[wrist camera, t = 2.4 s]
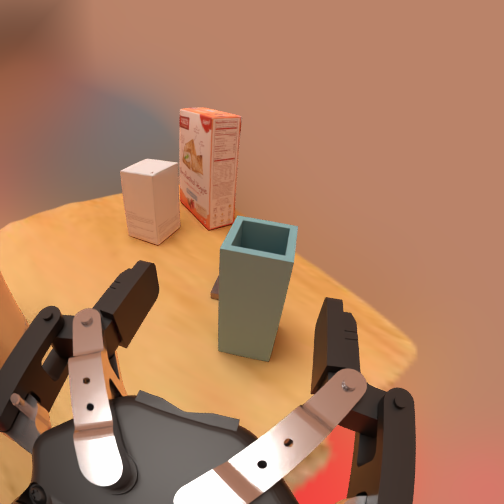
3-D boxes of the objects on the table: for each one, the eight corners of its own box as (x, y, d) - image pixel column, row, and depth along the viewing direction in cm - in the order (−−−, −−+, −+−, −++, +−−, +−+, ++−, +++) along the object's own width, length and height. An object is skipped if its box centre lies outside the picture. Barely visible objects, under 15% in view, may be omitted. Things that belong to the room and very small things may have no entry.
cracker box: (178, 202, 59) (178, 108, 47) (202, 197, 62) (206, 106, 50) (206, 232, 50) (210, 115, 38) (234, 224, 53) (243, 114, 41)
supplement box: (181, 227, 51) (180, 162, 43) (158, 246, 45) (151, 175, 38) (151, 218, 52) (147, 157, 45) (127, 235, 47) (118, 169, 39)
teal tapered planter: (268, 361, 29) (293, 262, 21) (218, 350, 30) (219, 248, 22) (276, 324, 34) (297, 226, 26) (230, 314, 34) (237, 215, 26)
